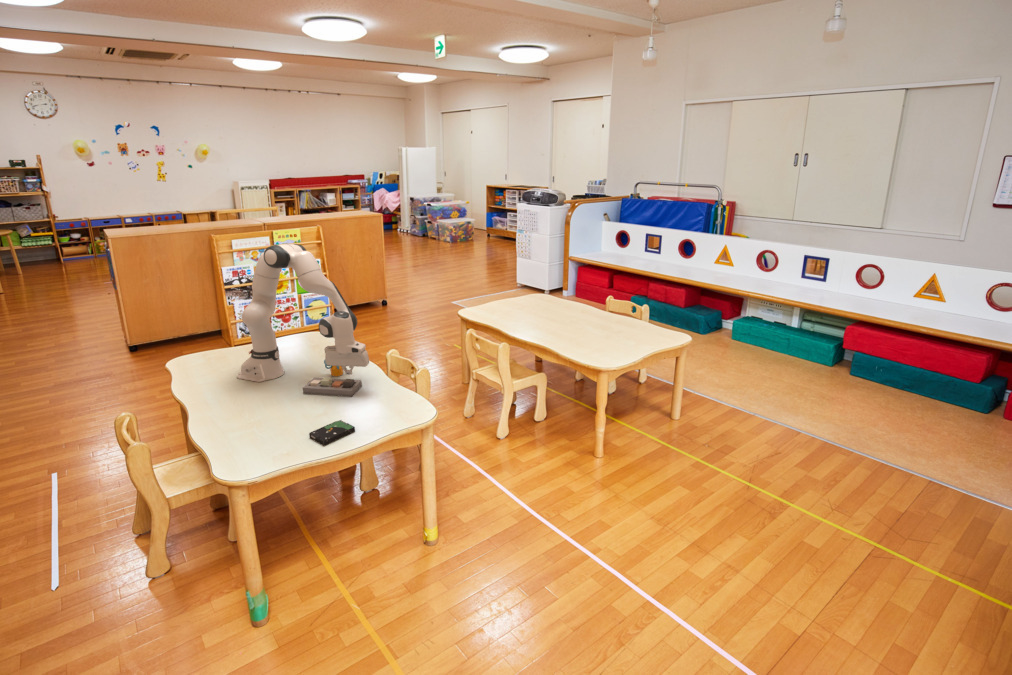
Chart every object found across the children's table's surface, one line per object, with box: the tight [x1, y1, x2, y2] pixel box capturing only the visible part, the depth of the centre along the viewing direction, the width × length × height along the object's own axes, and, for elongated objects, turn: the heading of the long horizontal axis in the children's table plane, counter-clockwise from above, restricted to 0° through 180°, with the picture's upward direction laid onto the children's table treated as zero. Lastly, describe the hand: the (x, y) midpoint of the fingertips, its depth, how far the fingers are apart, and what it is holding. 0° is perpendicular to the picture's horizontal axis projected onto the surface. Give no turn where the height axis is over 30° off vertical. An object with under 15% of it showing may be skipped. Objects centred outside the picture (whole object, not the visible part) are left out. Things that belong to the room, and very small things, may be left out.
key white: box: [310, 380, 321, 386], centre depth 264 cm, size 4×4×2 cm
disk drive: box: [308, 419, 356, 447], centre depth 224 cm, size 10×3×15 cm
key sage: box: [321, 377, 332, 386], centre depth 263 cm, size 4×4×2 cm
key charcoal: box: [343, 378, 355, 387], centre depth 261 cm, size 4×4×2 cm
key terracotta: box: [332, 381, 343, 388], centre depth 262 cm, size 4×4×2 cm
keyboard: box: [302, 377, 363, 398], centre depth 263 cm, size 24×12×3 cm, turn 82°
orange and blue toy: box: [323, 344, 344, 377], centre depth 279 cm, size 12×10×15 cm
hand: (348, 374), depth 260 cm, fingers closed
